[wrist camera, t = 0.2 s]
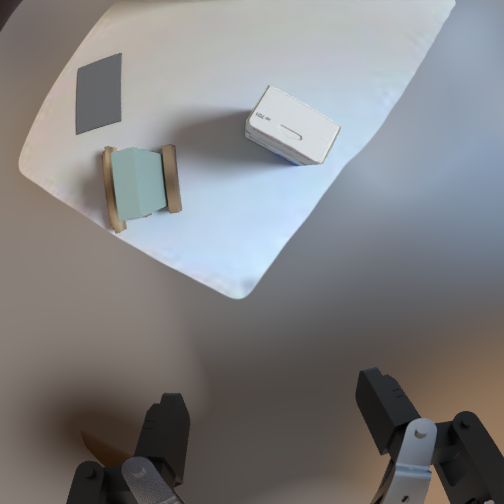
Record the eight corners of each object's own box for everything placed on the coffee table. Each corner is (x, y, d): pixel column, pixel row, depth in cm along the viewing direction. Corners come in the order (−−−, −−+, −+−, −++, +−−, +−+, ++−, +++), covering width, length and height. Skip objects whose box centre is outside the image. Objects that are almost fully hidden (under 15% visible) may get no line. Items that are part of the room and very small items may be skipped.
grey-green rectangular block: (147, 158, 34) (111, 152, 23) (164, 155, 34) (133, 147, 23) (153, 206, 36) (119, 221, 25) (170, 204, 36) (141, 217, 25)
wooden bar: (108, 150, 34) (98, 148, 30) (117, 148, 34) (107, 146, 30) (118, 229, 37) (109, 234, 34) (127, 228, 37) (118, 233, 34)
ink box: (314, 139, 35) (345, 125, 24) (297, 169, 36) (323, 166, 25) (259, 108, 33) (269, 80, 22) (241, 138, 34) (243, 122, 23)
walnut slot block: (136, 153, 34) (130, 152, 32) (175, 146, 34) (170, 144, 32) (144, 215, 36) (138, 218, 34) (182, 210, 37) (178, 212, 34)
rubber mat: (79, 69, 29) (78, 68, 29) (121, 53, 29) (120, 52, 29) (77, 134, 32) (76, 134, 32) (121, 120, 32) (120, 120, 32)
